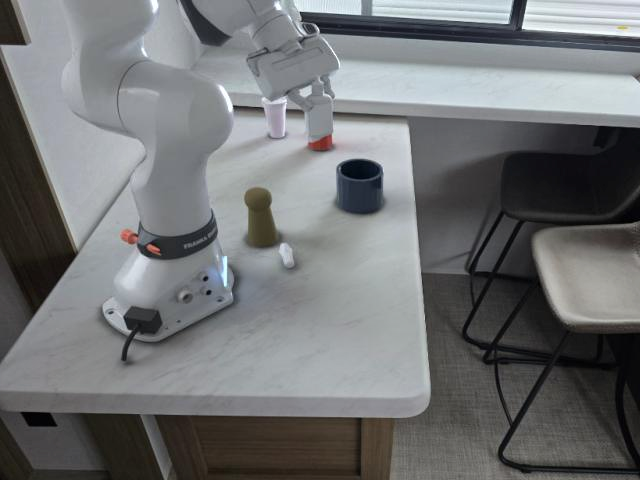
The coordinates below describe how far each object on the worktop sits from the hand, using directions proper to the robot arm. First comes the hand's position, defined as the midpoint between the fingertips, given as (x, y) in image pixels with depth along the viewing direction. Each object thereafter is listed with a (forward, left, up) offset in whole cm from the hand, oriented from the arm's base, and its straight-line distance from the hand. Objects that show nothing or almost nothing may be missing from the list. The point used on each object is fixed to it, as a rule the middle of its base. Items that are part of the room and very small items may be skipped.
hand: (320, 104), depth 111 cm
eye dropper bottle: (0, +1, -7) cm, 7 cm away
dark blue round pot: (+3, -7, -21) cm, 23 cm away
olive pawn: (-20, 0, -21) cm, 29 cm away
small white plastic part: (-23, -9, -21) cm, 33 cm away
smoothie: (+17, +30, -21) cm, 40 cm away
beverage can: (+19, +17, -21) cm, 33 cm away
